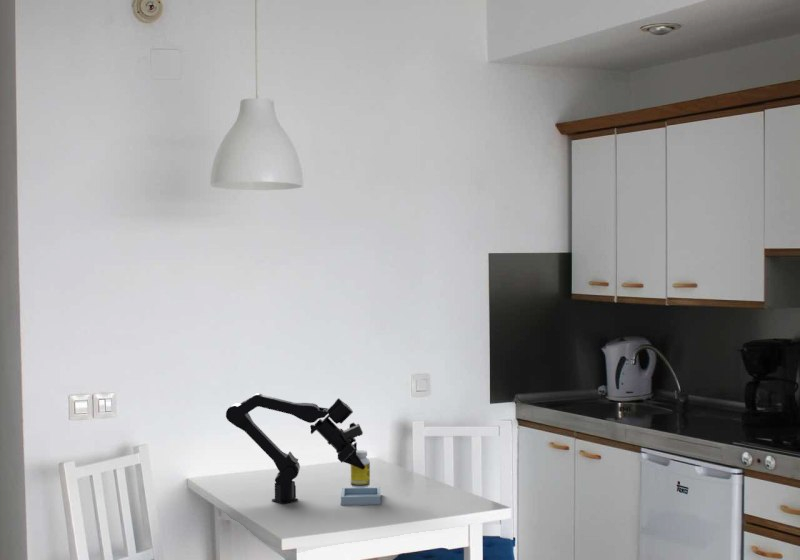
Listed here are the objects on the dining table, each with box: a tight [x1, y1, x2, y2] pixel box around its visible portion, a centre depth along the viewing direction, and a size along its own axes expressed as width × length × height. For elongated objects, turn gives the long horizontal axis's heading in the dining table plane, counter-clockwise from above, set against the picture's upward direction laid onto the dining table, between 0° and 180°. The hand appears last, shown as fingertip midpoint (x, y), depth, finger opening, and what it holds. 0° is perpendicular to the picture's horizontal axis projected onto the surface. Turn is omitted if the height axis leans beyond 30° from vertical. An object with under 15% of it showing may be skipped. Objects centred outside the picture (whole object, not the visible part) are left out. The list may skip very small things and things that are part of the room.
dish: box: [340, 486, 381, 506], centre depth 308 cm, size 13×13×3 cm
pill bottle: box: [350, 449, 371, 488], centre depth 308 cm, size 6×6×12 cm
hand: (364, 466), depth 308 cm, fingers closed on pill bottle, 6 cm apart
